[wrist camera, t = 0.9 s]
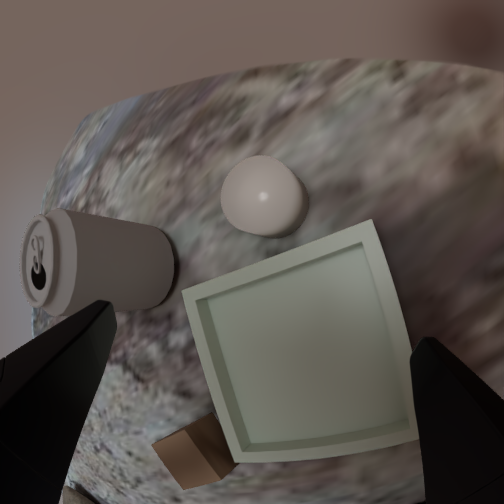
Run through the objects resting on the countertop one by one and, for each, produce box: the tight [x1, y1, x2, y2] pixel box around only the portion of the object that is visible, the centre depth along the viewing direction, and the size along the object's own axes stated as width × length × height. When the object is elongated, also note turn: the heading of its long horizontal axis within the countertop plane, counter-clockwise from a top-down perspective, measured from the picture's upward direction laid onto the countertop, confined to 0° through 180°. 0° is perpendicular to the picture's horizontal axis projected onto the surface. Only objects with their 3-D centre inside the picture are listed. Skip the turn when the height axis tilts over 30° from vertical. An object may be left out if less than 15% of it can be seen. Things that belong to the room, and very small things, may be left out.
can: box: [20, 208, 174, 317], centre depth 22 cm, size 8×8×12 cm
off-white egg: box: [221, 155, 309, 238], centre depth 21 cm, size 5×5×4 cm
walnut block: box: [152, 413, 239, 490], centre depth 22 cm, size 5×5×4 cm
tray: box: [182, 219, 419, 463], centre depth 19 cm, size 14×14×2 cm
